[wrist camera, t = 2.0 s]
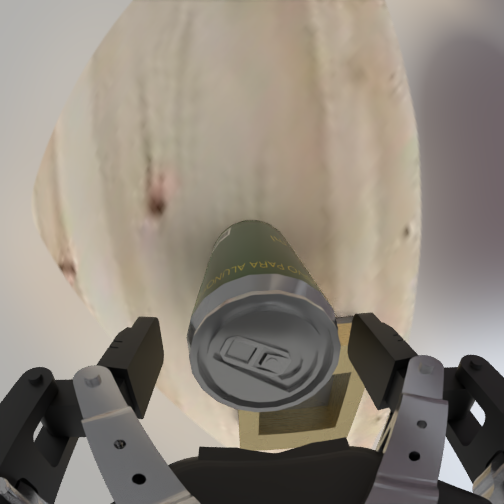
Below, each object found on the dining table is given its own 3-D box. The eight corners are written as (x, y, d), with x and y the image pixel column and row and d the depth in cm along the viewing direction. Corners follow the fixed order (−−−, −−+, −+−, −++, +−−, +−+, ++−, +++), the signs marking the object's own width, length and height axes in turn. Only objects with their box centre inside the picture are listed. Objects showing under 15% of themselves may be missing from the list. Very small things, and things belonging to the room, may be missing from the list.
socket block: (236, 321, 21) (236, 351, 18) (358, 316, 22) (377, 341, 18) (239, 420, 25) (240, 450, 21) (335, 412, 25) (345, 440, 21)
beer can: (201, 274, 20) (163, 389, 9) (232, 205, 19) (220, 255, 7) (268, 301, 21) (296, 426, 9) (301, 238, 20) (377, 321, 8)
